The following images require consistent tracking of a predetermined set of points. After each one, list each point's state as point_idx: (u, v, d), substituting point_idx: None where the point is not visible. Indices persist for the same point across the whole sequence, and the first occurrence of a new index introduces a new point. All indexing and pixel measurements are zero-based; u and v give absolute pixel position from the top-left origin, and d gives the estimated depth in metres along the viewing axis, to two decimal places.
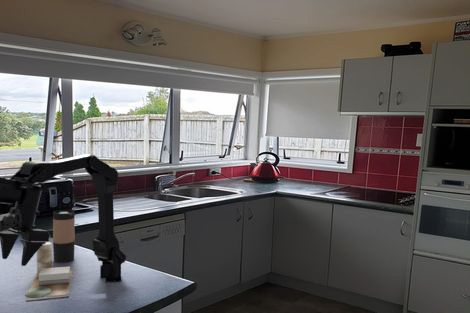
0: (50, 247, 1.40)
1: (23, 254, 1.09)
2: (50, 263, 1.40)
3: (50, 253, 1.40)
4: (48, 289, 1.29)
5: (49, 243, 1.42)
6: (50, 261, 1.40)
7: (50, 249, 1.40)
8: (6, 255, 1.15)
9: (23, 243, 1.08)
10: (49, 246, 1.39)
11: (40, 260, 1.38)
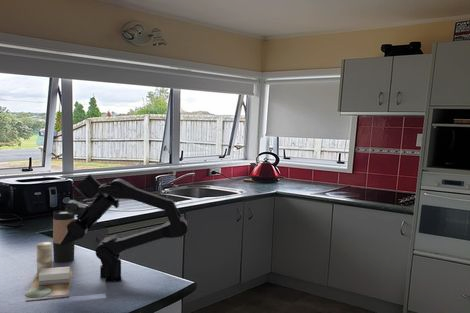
0: (50, 247, 1.40)
1: (65, 236, 1.35)
2: (50, 263, 1.40)
3: (50, 253, 1.40)
4: (48, 289, 1.29)
5: (49, 243, 1.42)
6: (50, 261, 1.40)
7: (50, 249, 1.40)
8: None
9: None
10: (49, 246, 1.39)
11: (40, 260, 1.38)
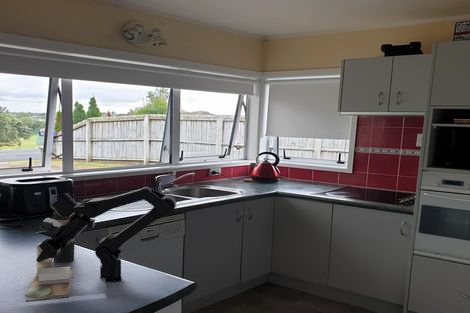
0: None
1: (40, 253, 1.37)
2: (50, 263, 1.40)
3: None
4: (48, 289, 1.29)
5: None
6: (50, 261, 1.40)
7: None
8: None
9: None
10: None
11: None
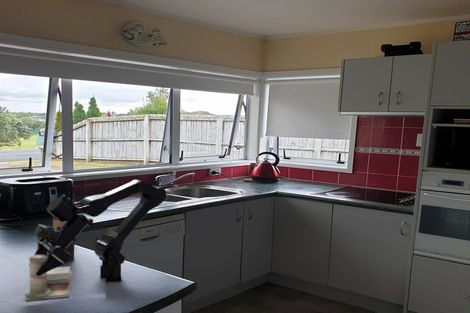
0: None
1: (42, 265, 1.22)
2: (46, 276, 1.28)
3: None
4: (48, 289, 1.29)
5: (41, 255, 1.28)
6: (46, 274, 1.27)
7: None
8: None
9: (47, 255, 1.22)
10: None
11: None
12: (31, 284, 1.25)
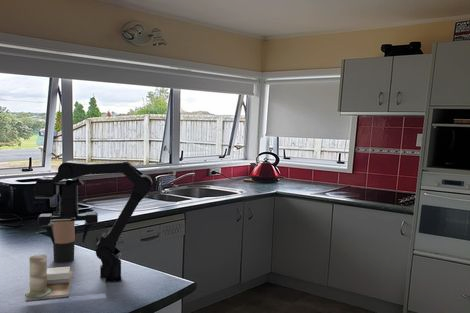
0: (46, 259, 1.27)
1: None
2: (46, 276, 1.28)
3: (46, 265, 1.27)
4: (48, 289, 1.29)
5: (41, 255, 1.28)
6: (46, 274, 1.27)
7: (46, 261, 1.27)
8: (82, 239, 1.41)
9: None
10: (46, 258, 1.27)
11: (38, 275, 1.24)
12: (31, 284, 1.25)
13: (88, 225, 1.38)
